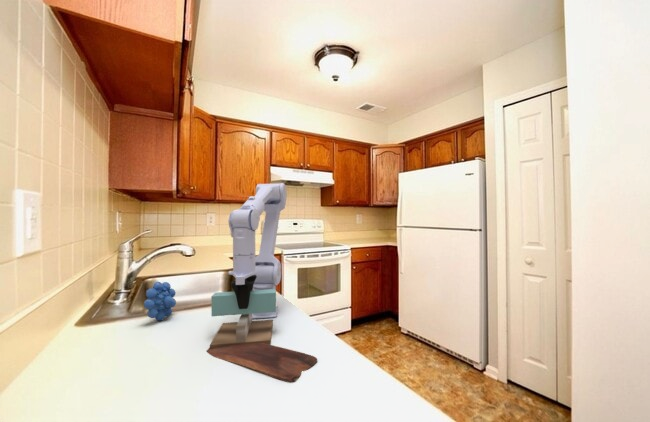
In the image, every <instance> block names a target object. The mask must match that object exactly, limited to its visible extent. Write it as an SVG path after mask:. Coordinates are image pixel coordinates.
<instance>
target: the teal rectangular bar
mask: <svg viewBox="0 0 650 422" xmlns="http://www.w3.org/2000/svg"><path fill="white" fill-rule="evenodd" d="M276 289H277V288H276ZM276 289H271V290H254V291H253V290H252V291H251V292H250V298H249V305H248V308H247V309H239V307H238V303H237V298H236V295H235V292H234V291H222V292H214V293H213V294H212V295H211V297H210V299H211V301H210V302H211V303H210V304H211V317H220V316H221V317H222V316H223V317H224V316H235V315H236V316H238V315H241V314H254V313H268V312H276V306H277V290H276Z"/></svg>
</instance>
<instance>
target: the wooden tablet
mask: <svg viewBox="0 0 650 422" xmlns="http://www.w3.org/2000/svg"><path fill="white" fill-rule="evenodd" d="M206 353H207V354H209V356H212V357H213V358H216V359H219V360H223V361H226V362H230V363H233V364H236V365H238V366H239V365H240V366H243V367H246V368H248V369H250V370H254V371H255V372H258V373H261V374H263V375H266V376H269V377H272V378H275V379H277V380H281V381H283V380H284V381H283V382H287V381H288V382H287V383H294V382H297V380H299V378H301V376H302V373H303V372H305V371H309V370H310V369H311V368H313V367H314V366H315V365H316V364H317V363H318V358H317V357H316V356H314V355H311V354H307V353H304V352H300V351H297V350H293V349H289V348H285V347H280V346H276V345H272V344H270V345H268V344H264V343H251V344H239V345H231V346H224V347H217V348H212V349H210V347H209V348H208V349H207V350H206ZM302 371H303V372H302Z"/></svg>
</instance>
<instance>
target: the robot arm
mask: <svg viewBox="0 0 650 422" xmlns="http://www.w3.org/2000/svg"><path fill="white" fill-rule="evenodd" d="M255 186H256V187H255V195H254V196H253V195H252V196H249V197H248V199H246V201H245V202H244V203H243V204H242V205H241V207H239V208H238V209H234V210H233V211H231V212H230V213H229V217H228V227H229V229H230V237H231V238H232V270H229V271H228V272H227V273H228V275H229V276H230V275H231V276H233V277H234V280H232V281H231V282H230V286H231V288H232V289H233V292H235V295H236V298H237V303H238V307H239V309H247V308H248V305H249V298H250V292H251V291H254V290H271V289H277V286H278V285H279V284H280V282H281V278H282V264H281V261H280V260H279V259H278V258H277V257H276V256H275V250H276V243H277V235H278V228H279V220H280V215H281V211H283V210H284V209H286V208H285V207H286V205H287V198H288V197H287V196H288V194H287V191H288V190H287V185H286V184H285V183H284V182H281V183H258V184H257V185H255ZM263 212H265V216H264V221H263V228H262V234H261V240H260V245H259V254H257V255H256V230H258V228H259V223H260V220H261V215H262V214H263ZM278 309H279V308H278V306H277V305H276V312H268V313H254V314H252V320H253V319H254V320H255V319H266V318H267V319H268V318H277V317H278Z"/></svg>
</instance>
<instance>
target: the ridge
mask: <svg viewBox="0 0 650 422" xmlns="http://www.w3.org/2000/svg"><path fill="white" fill-rule="evenodd" d="M238 319H239V320H238V321H233V322H230V321H229V322H222V324H221V326H220V327H219V329H218V331H217V332H216V334H215V336H214V337H213V339H212V341H211V342H210V344H209V348H210V349H212V348H217V347H224V346H231V345H239V344H251V343H264V344H268V345H272V343H271V342H272V334H273V326H274V325H273V324H274V320H273V319H264V320H263V319H262V320H253V319H252V314H240V317H239V318H238Z"/></svg>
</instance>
